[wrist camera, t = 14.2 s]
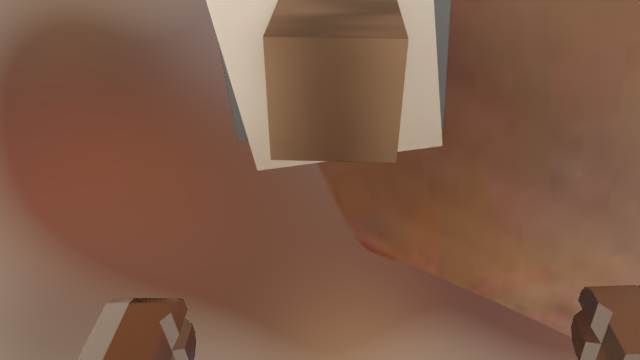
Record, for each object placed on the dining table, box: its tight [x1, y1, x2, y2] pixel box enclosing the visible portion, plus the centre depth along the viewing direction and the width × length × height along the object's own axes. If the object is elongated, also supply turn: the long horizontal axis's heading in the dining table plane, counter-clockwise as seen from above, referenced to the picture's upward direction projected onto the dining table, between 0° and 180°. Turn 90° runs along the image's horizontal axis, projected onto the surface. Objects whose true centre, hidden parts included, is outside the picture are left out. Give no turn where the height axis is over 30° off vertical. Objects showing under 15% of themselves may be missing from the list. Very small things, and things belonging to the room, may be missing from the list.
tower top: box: [206, 0, 442, 170], centre depth 26 cm, size 10×13×5 cm
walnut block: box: [263, 0, 409, 163], centre depth 21 cm, size 5×5×6 cm
